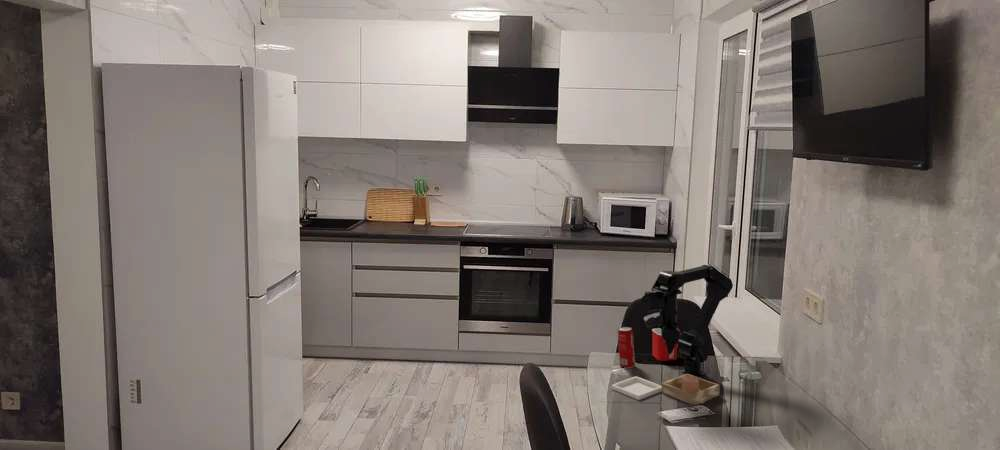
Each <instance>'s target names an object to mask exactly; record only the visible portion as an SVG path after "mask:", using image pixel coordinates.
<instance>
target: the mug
mask: <svg viewBox="0 0 1000 450" xmlns="http://www.w3.org/2000/svg"><path fill="white" fill-rule="evenodd" d="M651 331H652V355H651V356H652V357H654V359H656V360H657V361H659V362H667V361H676V360H677V357H678V353H677V352H678V351H677V350H678V342H677V343H676V345H675V347H674V349H673V351H672V353H671V354H668V351H667V346H666V345H665V341H664V339H663V338H662V337H661V329H660V328H659V327H658V328H652V329H651ZM682 333H683V332H682ZM682 333H681V332H680V336H681V335H682Z"/></svg>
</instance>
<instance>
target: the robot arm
mask: <svg viewBox="0 0 1000 450" xmlns="http://www.w3.org/2000/svg"><path fill="white" fill-rule="evenodd" d="M702 279H704V282H706V283H707V285H706V298H705V299H704V301H703V304H702V305H701V308H700V309H699V312H698V313H697V316H696V318H695V320H694V322H693V324H692V326H691V328H690V330H689V331H687V332H685V331H683V332H682V335H680V333H681V331H680V328H678V327H677V326H678V321H677V320H678V295H682V293H683V292H682V290H680V288H683V286H684V285H685V284H688V283H692V282H696V281H699V280H702ZM733 286H734V284H733V281H732V279H731V278H730V277H728V276H726V275H725V274H724V273H721V272H720V271H719V270H718V269H717V268H716V267H715V266H714V265H713V266H712V265H709V264H703V265H700V266H696V267H692V268H688V269H685V270H680V271H677V270H676V271H673V270H662V271H661V272H659V275H658V276H657V278H656V280H655V281H654V284H653V285H652V288H651V289H650V290H651V291H645V292H644V294H643V296H641V299H640V305H641V308H642V310H643V311H644V312H654V311H657V310H658V312H654V313H651V314H648V315H646V316H644V317H643V321H644V323H645V327H646V328H647V329H651V328H653V327H656V326H658V328H660V329H661V337H662V338H663V339H664V341H665V345H666V346H667V351H668V354H671V353H672V351H673V349H674V347H675V345H676V343H677V345H678V348H677V350H678V352H679V355H680V356H681V358H682V357H683V358H684V369H683V370H684V371H682V372H680V373H681V374H682V375H684V374H690V375H693V376H697V377H698V378H701V377H703V376H705V375H706V374H707V373H706V372H703V363H704V362H706V361H707V360H708V357H709V354H707V352H705V350H704V346H705V341H704V337H705V334H706V331H707V329H708V327H709V325H710V323H711V321H712V319H713V317H714V314H715V313H716V311H717V308H718V307H719V304H720V302H721V301H723V300H724V299H726V297H728V296H729V294H730V293H731V291H732V289H733Z"/></svg>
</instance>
